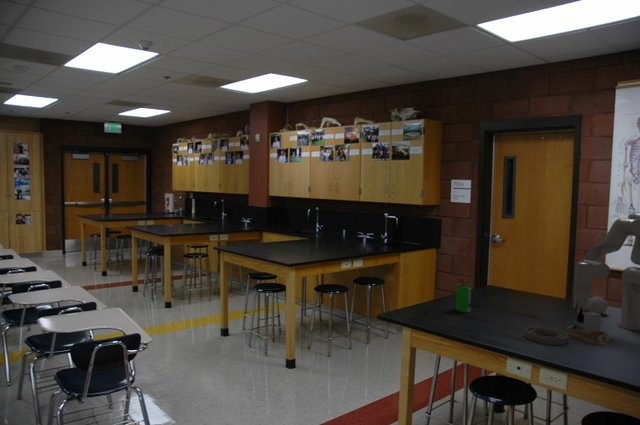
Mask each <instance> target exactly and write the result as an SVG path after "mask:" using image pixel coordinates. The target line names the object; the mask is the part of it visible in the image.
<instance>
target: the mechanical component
mask: <svg viewBox="0 0 640 425" xmlns="http://www.w3.org/2000/svg"><path fill="white" fill-rule="evenodd" d="M565 333H566V332H563V331H560V330H558V329H553V328H548V327H540V326H531V327H530V326H529V327H526V328H525V329H524V337H525V338H526V339H528V340H530V341H532V342H535V343H540V344H543V345H550V346H561V345H562V346H564V345H567V344H568V339H569V338H568V335H566V334H565Z"/></svg>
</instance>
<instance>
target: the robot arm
mask: <svg viewBox="0 0 640 425" xmlns="http://www.w3.org/2000/svg"><path fill="white" fill-rule="evenodd" d="M629 236H631V237H634V242H633V246H632V249H631V253H630V261H631V262H632V263H633V264H635V265H638V266H640V212H632V213H630V214H629V215H628V217H621V218H618V219H615V220H614V222H613V224H612V225H611V227H610V228H609V230H608V232H607V234H606V235H605V236H604V238H603V240H602V241H601V242H600V243H597V244H596V245H595V246H593V247H592V248H590V249H589V250H588V251H587V253H585V255H584V257H583V259H582V260H581V261H577V262H576V263H575V270H574V271H575V272H574V295H573V303H572V308H573V309H576V312H577V316H576V317H577V320H576V321H578V323H579V324H580V323H581V324H583V323H584V312H587V310H588V307H589V305H590V298H591V291H592V287H593V284H592V282H593V277H594V278H606V277H608V276H609V275H610V274H611V268H610V266H609V265H608V264H607V263H604V262H601V261H598V260H599V259H601V257H604V256H605V255H608V254H612V253H615V252H618V251H620V249H621V248H622V246H624V243H625V242H626V240H627V238H629ZM621 278H622V279H621V280H622V286H623V289H622V301H621V302H622V303H621V315H620V316H621V318H620V321H618V322H617V324H616V325H617V326H618V327H620V328H623V329H626V330H630V331H638V332H639V331H640V267H636V266H628V267H626V268H624V270H623V271H622V273H621Z"/></svg>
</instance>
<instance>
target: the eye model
mask: <svg viewBox="0 0 640 425" xmlns="http://www.w3.org/2000/svg"><path fill="white" fill-rule="evenodd" d="M607 309H608V302H607V301H606V300H605V299H604V298H603V297H601V296H597V295H596V296H590V305H589V307H588V308H587V310H589V312H596V313H599V314H601V315H602V314H603V313H605V312H606V311H607Z"/></svg>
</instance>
